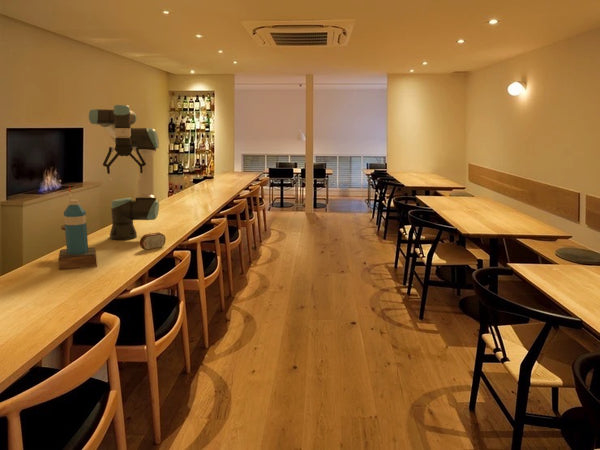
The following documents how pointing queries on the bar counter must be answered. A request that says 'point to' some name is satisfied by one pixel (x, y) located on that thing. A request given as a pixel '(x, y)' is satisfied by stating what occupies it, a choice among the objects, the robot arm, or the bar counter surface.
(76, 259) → the stand
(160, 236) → the tin
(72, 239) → the water bottle
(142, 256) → the bar counter surface
